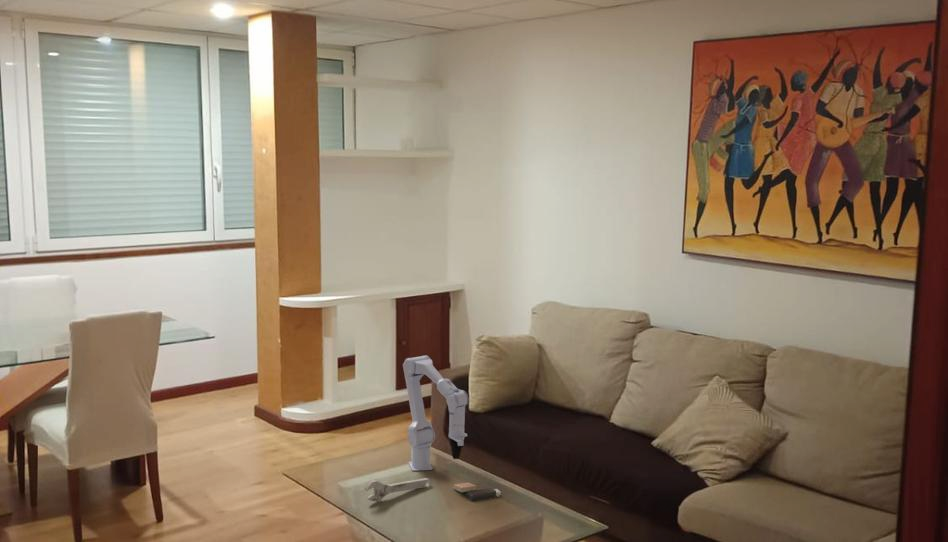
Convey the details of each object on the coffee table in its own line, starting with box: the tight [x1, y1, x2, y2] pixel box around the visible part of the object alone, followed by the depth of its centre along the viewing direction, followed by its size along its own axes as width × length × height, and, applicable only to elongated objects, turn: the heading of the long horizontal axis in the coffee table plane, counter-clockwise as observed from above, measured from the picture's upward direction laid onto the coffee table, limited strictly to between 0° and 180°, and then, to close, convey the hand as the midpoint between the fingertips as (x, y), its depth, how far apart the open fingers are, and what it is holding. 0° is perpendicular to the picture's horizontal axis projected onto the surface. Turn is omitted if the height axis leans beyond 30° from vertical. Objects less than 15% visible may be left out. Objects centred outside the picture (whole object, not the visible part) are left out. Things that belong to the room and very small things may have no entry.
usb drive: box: [465, 487, 502, 502], centre depth 294 cm, size 5×12×3 cm, turn 115°
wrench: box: [364, 477, 432, 503], centre depth 293 cm, size 8×2×30 cm
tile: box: [452, 482, 478, 493], centre depth 298 cm, size 2×6×8 cm
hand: (455, 458), depth 306 cm, fingers closed
